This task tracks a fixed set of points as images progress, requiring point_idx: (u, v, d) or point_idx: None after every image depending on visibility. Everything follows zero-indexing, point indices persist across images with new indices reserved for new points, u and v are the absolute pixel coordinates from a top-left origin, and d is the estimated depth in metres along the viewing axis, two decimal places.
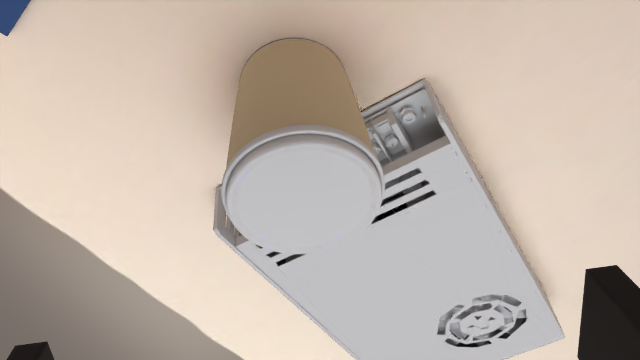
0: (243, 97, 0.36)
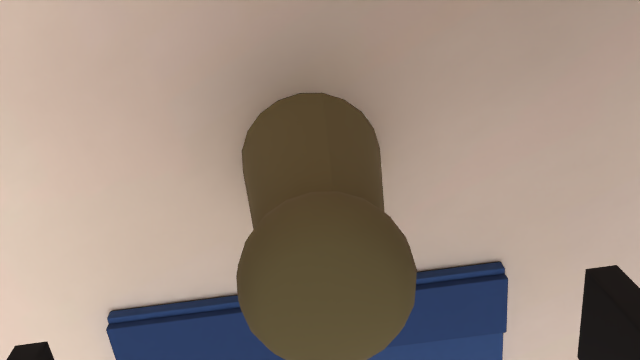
0: None
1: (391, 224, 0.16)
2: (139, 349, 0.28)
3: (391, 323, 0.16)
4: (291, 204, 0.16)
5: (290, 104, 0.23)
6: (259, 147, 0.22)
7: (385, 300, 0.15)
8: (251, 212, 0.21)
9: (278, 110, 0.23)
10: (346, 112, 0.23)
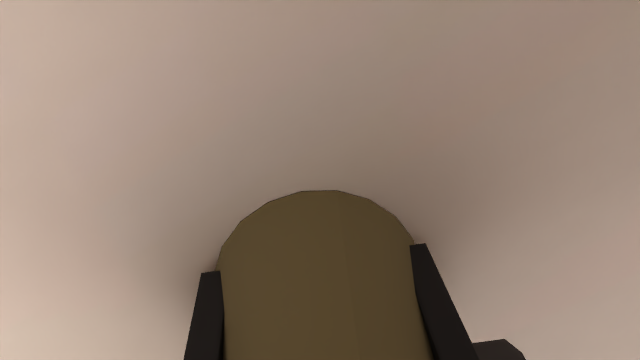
0: None
1: None
2: None
3: None
4: None
5: (287, 212, 0.15)
6: (237, 293, 0.14)
7: None
8: None
9: (269, 222, 0.15)
10: (375, 227, 0.15)
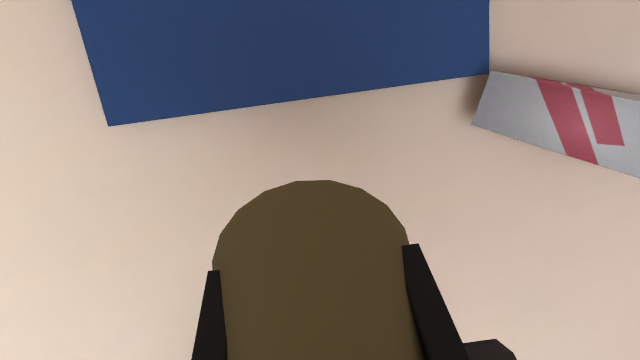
0: None
1: None
2: None
3: None
4: None
5: (282, 201, 0.16)
6: (234, 277, 0.14)
7: None
8: None
9: (265, 210, 0.16)
10: (366, 214, 0.15)
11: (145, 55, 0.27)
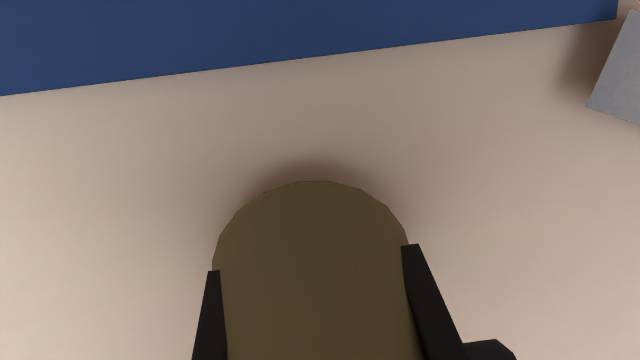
0: None
1: None
2: None
3: None
4: None
5: (282, 202, 0.16)
6: (234, 277, 0.14)
7: None
8: None
9: (264, 211, 0.16)
10: (366, 215, 0.15)
11: None
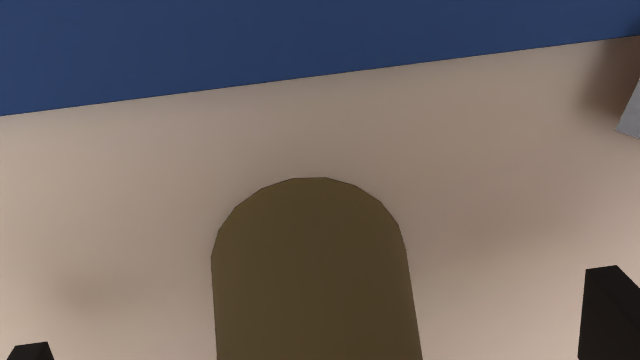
0: None
1: None
2: None
3: None
4: None
5: (279, 198, 0.16)
6: (232, 271, 0.15)
7: None
8: None
9: (262, 206, 0.16)
10: (361, 210, 0.16)
11: None
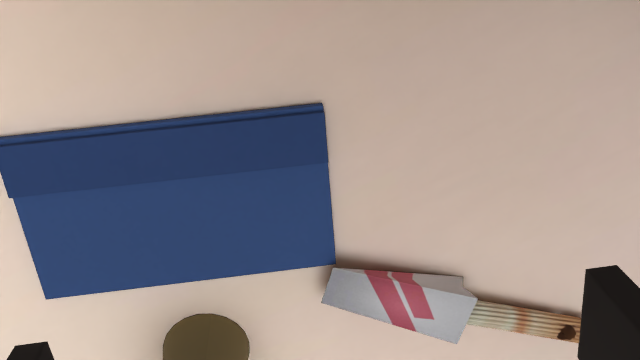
0: None
1: None
2: (21, 167, 0.34)
3: None
4: None
5: (190, 324, 0.39)
6: (169, 356, 0.38)
7: None
8: None
9: (183, 328, 0.39)
10: (224, 330, 0.39)
11: (74, 252, 0.37)
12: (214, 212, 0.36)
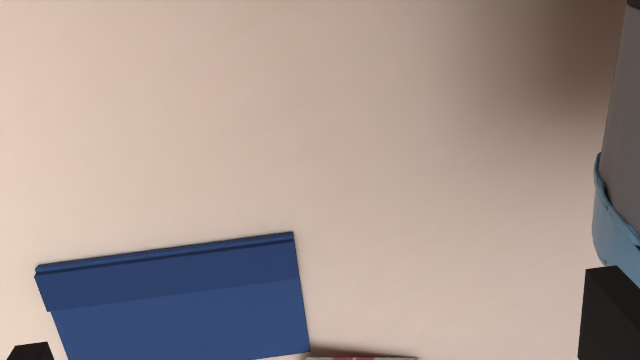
0: None
1: None
2: (56, 289, 0.43)
3: None
4: None
5: None
6: None
7: None
8: None
9: None
10: None
11: (99, 348, 0.46)
12: (209, 316, 0.45)
